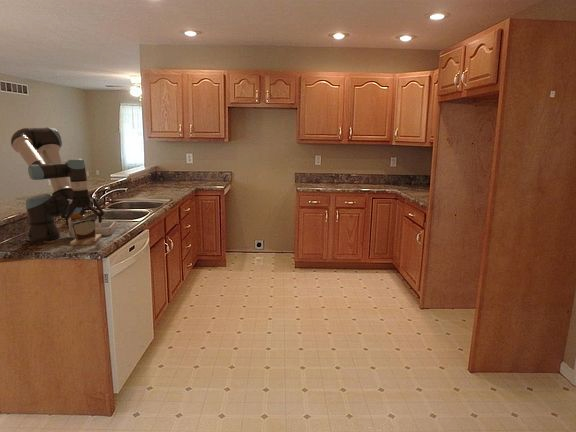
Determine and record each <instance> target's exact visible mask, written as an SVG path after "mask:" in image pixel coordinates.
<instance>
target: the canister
mask: <svg viewBox="0 0 576 432" xmlns="http://www.w3.org/2000/svg"><path fill="white" fill-rule="evenodd" d="M85 214H86V212H85V209H84V208H83V207H82V210H81V212H80V213H78V214H73V215H71V216H70V217H69V218H71V222H72V221H73V220H76V219H81V218H84V215H85Z"/></svg>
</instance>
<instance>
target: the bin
mask: <svg viewBox="0 0 576 432" xmlns="http://www.w3.org/2000/svg"><path fill="white" fill-rule="evenodd" d="M100 225H101V229H99V230H98V224H97V222H95V234H100V233H102V235H103V236H112V234H113V233H114V232H115V231H116V229H117V221H102V222H101V223H100ZM72 229H73V227H72ZM68 232H69V233H68V234H69V237H70V239H74V238H75V237H76V236H75V233H74V229H73V231H71V232H70V231H69V230H68Z"/></svg>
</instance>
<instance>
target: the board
mask: <svg viewBox="0 0 576 432" xmlns="http://www.w3.org/2000/svg"><path fill="white" fill-rule="evenodd" d="M95 235H96V237H92V238H88V239H84V240H80V241H77V240H76V237H75V238H72V240H71V241H70V242H69V245H70V246H71V247H72V246H81V245H93V244H97V243H98V242H99V240H100V239H101V238H102V237H103V236H102V233H100V234H95Z"/></svg>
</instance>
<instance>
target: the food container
mask: <svg viewBox="0 0 576 432" xmlns="http://www.w3.org/2000/svg"><path fill="white" fill-rule="evenodd" d="M96 222H97V218H96V219H95V217H83V218H81V219H76V220H73V221H72V222H71V226H72V228H73V229H74V233H75V236H76V240H77V241H80V240H84V239H88V238H92V237H96V235H95V223H96Z"/></svg>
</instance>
